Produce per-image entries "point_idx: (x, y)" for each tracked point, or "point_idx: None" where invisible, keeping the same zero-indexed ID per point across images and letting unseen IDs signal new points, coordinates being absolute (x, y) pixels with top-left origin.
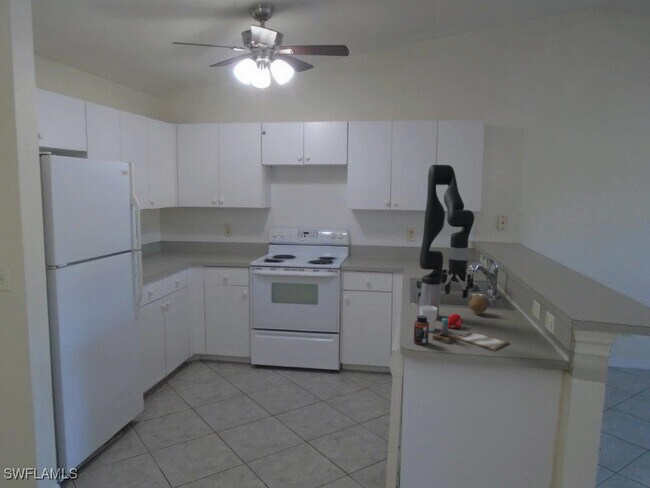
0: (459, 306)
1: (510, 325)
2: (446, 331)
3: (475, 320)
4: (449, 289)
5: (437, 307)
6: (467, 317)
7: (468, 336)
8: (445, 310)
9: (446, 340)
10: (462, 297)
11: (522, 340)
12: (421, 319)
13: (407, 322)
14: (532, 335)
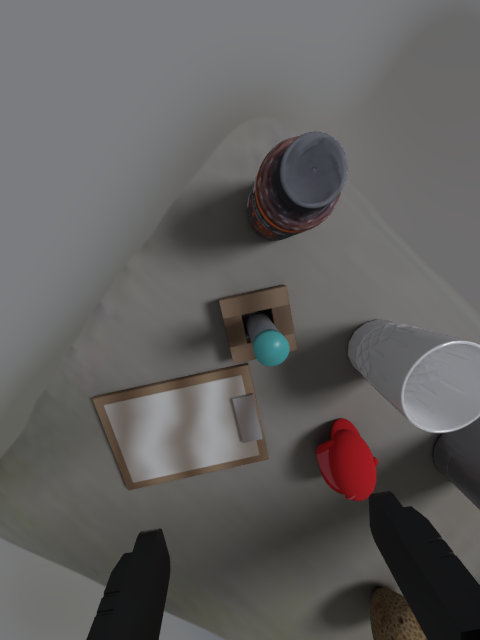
0: None
1: (255, 598)
2: (249, 329)
3: (345, 547)
4: (402, 584)
5: (474, 492)
6: None
7: (229, 414)
8: (473, 535)
9: (220, 300)
10: (156, 532)
11: None
12: (289, 145)
13: (473, 330)
14: None
